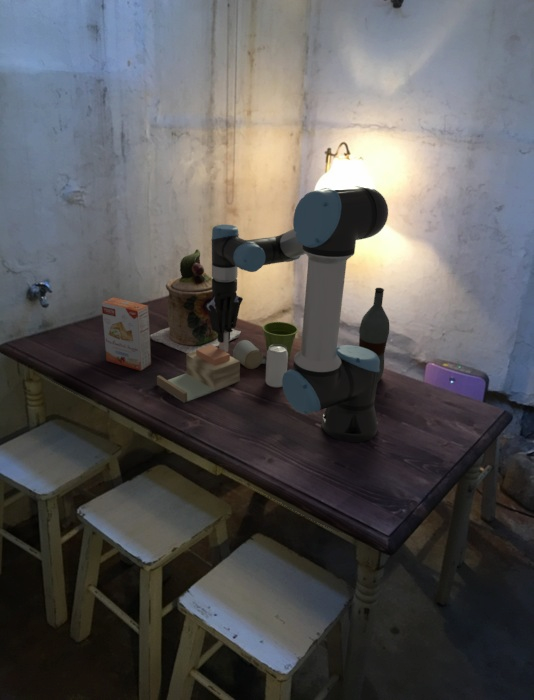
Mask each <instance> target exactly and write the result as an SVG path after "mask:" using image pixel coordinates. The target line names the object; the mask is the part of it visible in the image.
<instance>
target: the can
mask: <svg viewBox="0 0 534 700" xmlns="http://www.w3.org/2000/svg"><path fill="white" fill-rule="evenodd" d="M266 358H267V360H266V364H265V383H266V385H267V386H268V387H271V388H276V389H277V388H278V389H279V388H283V385H282V378H283V375H284V373H286V372H287V371H288V363H289V362H288V361H289V360H288V352H287V348H286V347H285V346H283V345H271V346H269V348H268V351H267V350H266Z"/></svg>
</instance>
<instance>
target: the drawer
mask: <svg viewBox="0 0 534 700" xmlns="http://www.w3.org/2000/svg"><path fill="white" fill-rule="evenodd" d="M156 385H157V386H158V387H160V388H161V389H163V390H164V391H165V392H167V393H169V394H170V395H171V396H174V397H175V398H176V399H178V400H179V401H180V402H182V403H184V404H185V403H188V402H191V401H192V400H195V399H198V398H201V397H204V396H206V395H209V394H211V393H213V392H215V391H214V390H213V389H212V388H210V387H208V386H207V385H205V384H204V383H202V382H200V381H199V380H197V379H195V378H194V377H192V376H190V375H189V374H187V372H185V373H184V374H180V375H178V376H175V377H172V378H169V379H166V378H165V377H163V376H162V375H160V374H159V375H157V376H156Z"/></svg>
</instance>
